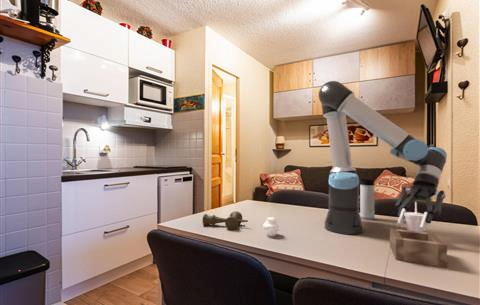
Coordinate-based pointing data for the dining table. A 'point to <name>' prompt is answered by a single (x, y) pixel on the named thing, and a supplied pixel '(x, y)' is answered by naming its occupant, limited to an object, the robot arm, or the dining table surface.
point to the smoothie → (413, 220)
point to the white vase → (271, 226)
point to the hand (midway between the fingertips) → (410, 226)
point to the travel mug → (367, 199)
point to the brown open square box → (418, 247)
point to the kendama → (225, 220)
